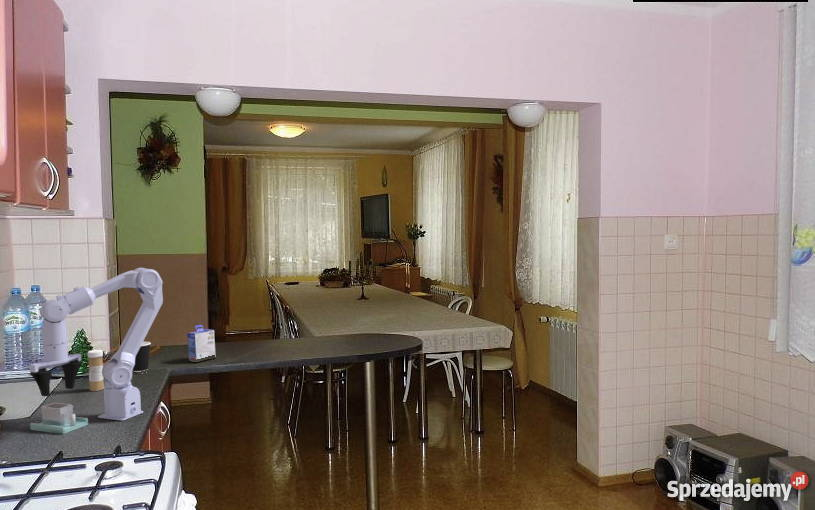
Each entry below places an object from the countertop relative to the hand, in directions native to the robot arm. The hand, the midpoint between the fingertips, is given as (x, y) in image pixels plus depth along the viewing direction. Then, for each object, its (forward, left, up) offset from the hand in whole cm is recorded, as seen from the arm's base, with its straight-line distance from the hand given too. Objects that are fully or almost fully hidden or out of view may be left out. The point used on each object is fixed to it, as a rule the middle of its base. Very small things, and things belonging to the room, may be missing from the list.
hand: (57, 392), depth 167 cm
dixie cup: (+26, -57, -10) cm, 63 cm away
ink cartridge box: (+16, -80, -10) cm, 82 cm away
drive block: (+1, 0, -9) cm, 9 cm away
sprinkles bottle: (+22, -33, -10) cm, 41 cm away
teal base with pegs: (0, 0, -10) cm, 10 cm away
